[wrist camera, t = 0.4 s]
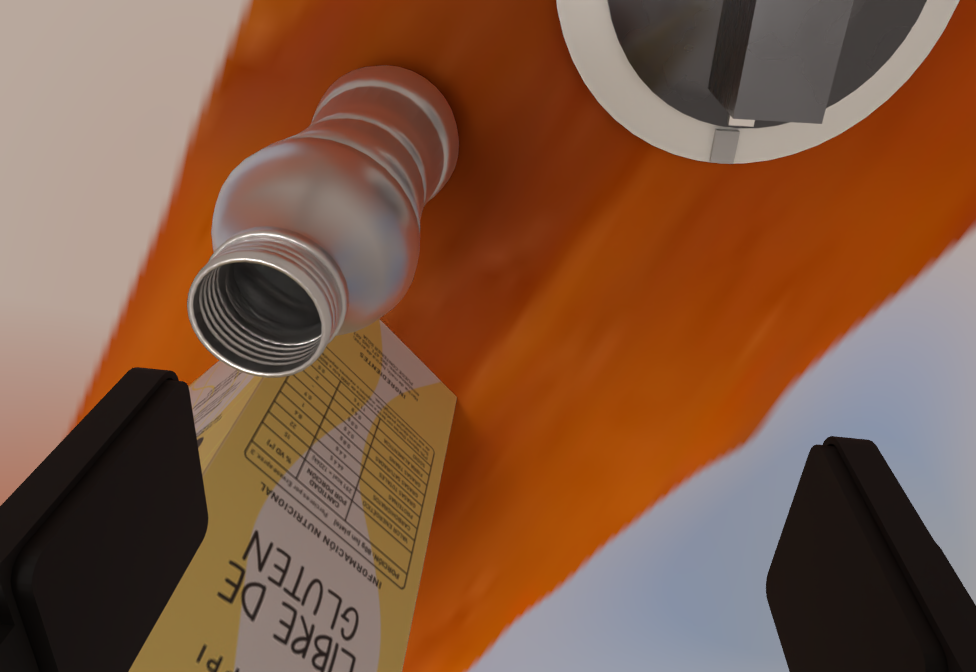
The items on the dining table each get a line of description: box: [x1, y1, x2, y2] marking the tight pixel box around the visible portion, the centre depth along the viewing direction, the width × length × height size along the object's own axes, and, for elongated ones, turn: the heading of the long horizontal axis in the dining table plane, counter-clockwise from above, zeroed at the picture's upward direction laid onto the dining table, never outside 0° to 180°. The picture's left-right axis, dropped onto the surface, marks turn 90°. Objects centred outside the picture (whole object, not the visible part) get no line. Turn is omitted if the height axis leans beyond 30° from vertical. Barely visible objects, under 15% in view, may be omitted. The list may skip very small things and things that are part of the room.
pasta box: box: [129, 319, 457, 672], centre depth 34 cm, size 18×10×28 cm, turn 130°
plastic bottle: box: [187, 65, 459, 378], centre depth 28 cm, size 6×7×20 cm
